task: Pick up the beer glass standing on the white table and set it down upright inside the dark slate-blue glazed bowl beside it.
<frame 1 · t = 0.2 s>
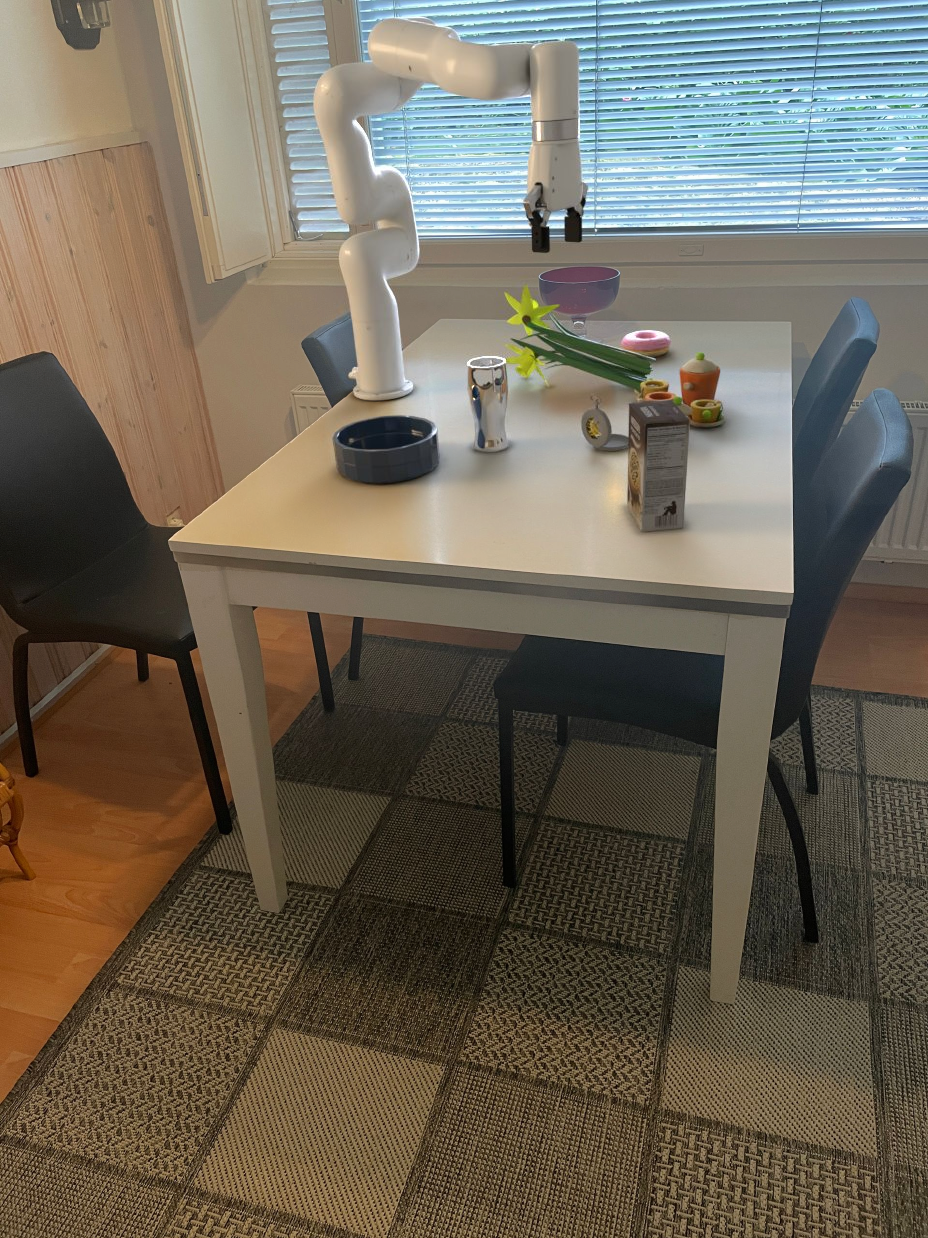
hand: (557, 246, 158), 31 cm above the table, tool pointing down, fingers open, 9 cm apart
toy tea set: (681, 417, 173), on the table
pocket watch: (605, 448, 163), on the table
doughnut: (645, 353, 211), on the table
daffodil flowers: (577, 382, 196), on the table
coffee box: (654, 518, 137), on the table
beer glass: (491, 447, 167), on the table
bowl: (388, 465, 162), on the table
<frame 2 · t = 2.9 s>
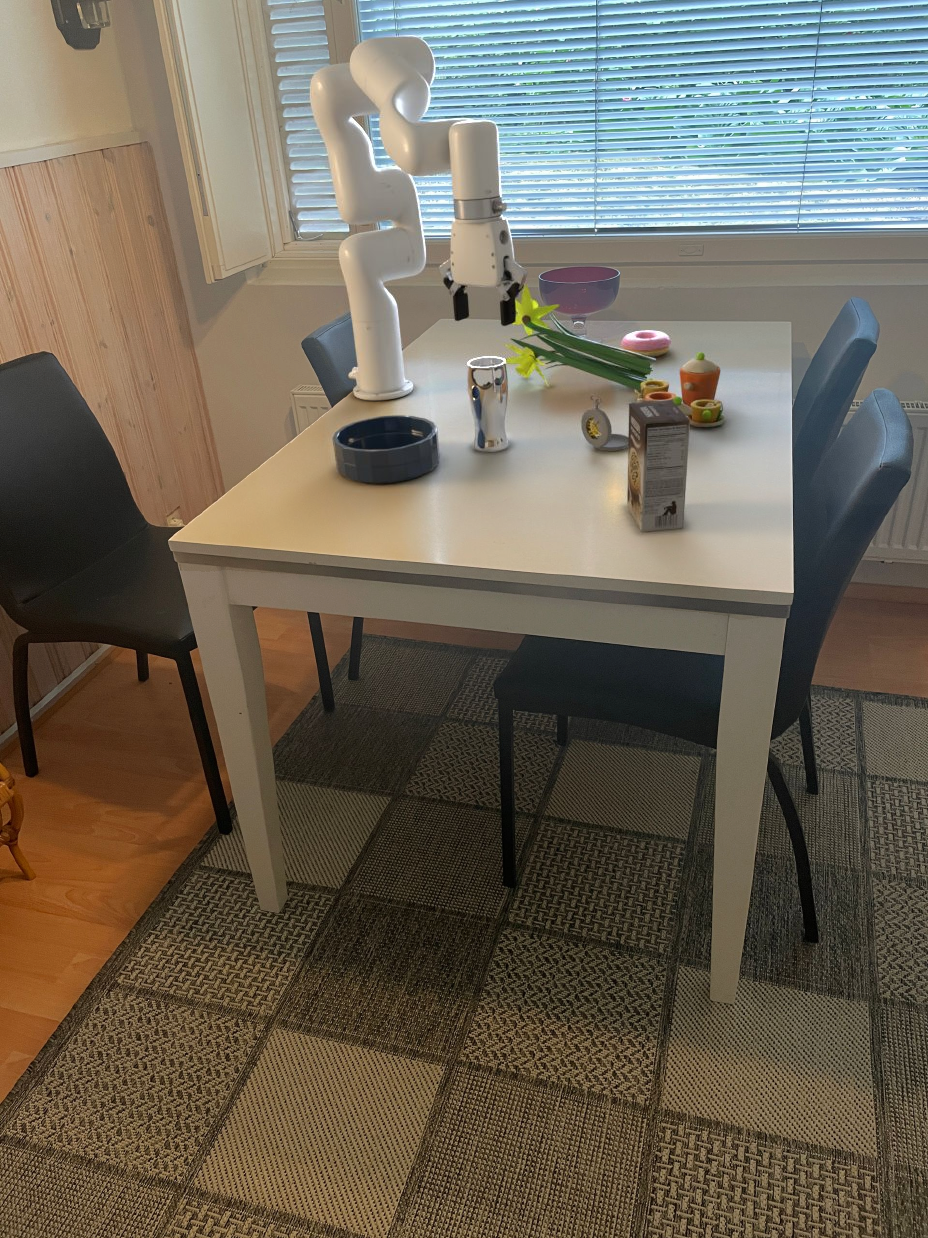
hand: (484, 321, 155), 22 cm above the table, tool pointing down, fingers open, 9 cm apart
nothing on the table moved.
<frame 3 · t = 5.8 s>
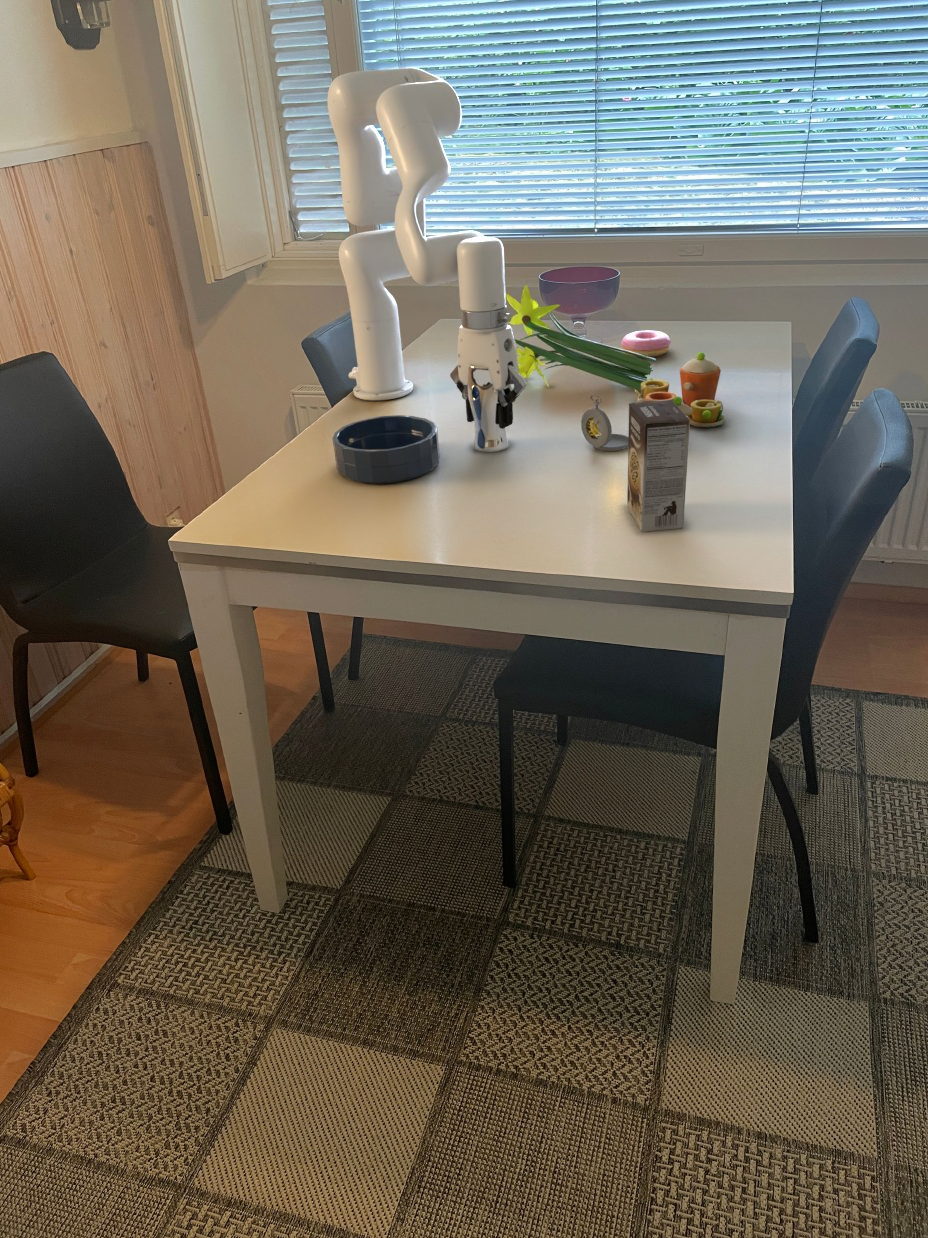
hand: (489, 422, 164), 4 cm above the table, tool pointing down, fingers closed on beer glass, 6 cm apart
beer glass: (491, 447, 167), on the table, touching gripper
everything else where it was.
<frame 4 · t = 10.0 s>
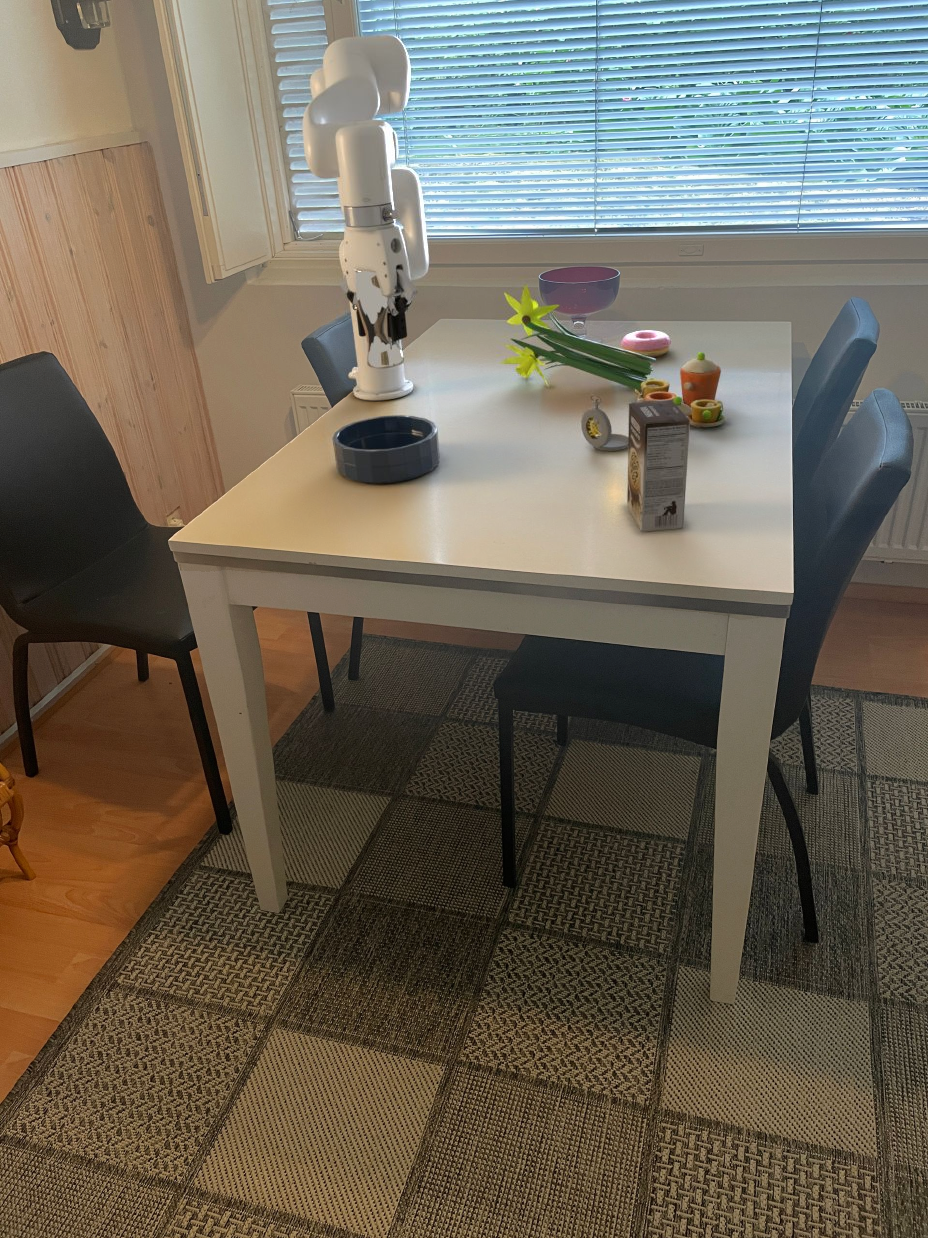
hand: (383, 335, 151), 22 cm above the table, tool pointing down, fingers closed on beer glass, 6 cm apart
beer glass: (386, 364, 154), point 17 cm above the table, touching gripper
everything else where it was.
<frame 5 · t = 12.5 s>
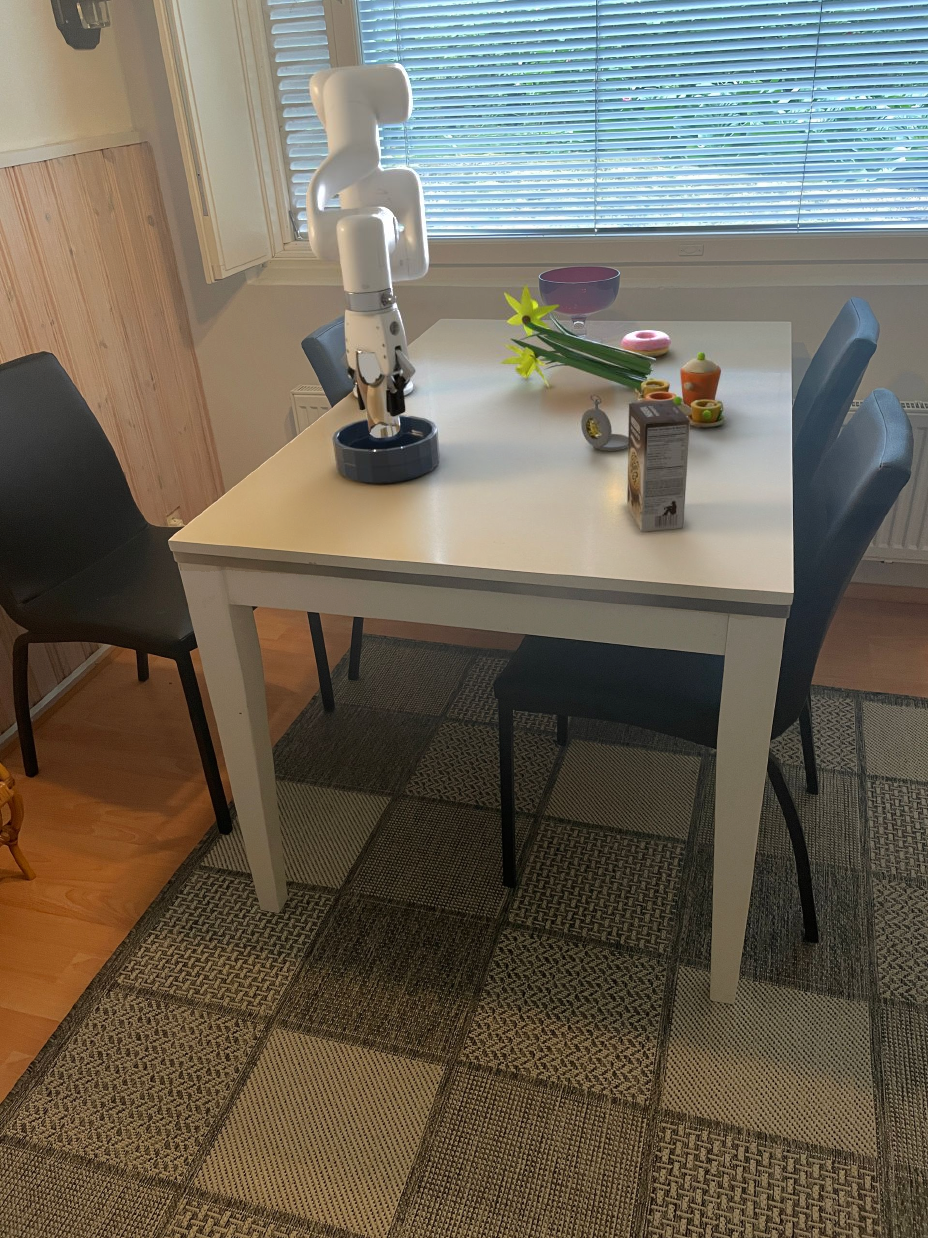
hand: (382, 410, 157), 10 cm above the table, tool pointing down, fingers closed on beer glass, 6 cm apart
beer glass: (385, 436, 159), point 5 cm above the table, touching gripper
everything else where it was.
when the fingers open (5 cm above the table, at t = 14.2 s): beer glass stays where it is, resting on bowl.
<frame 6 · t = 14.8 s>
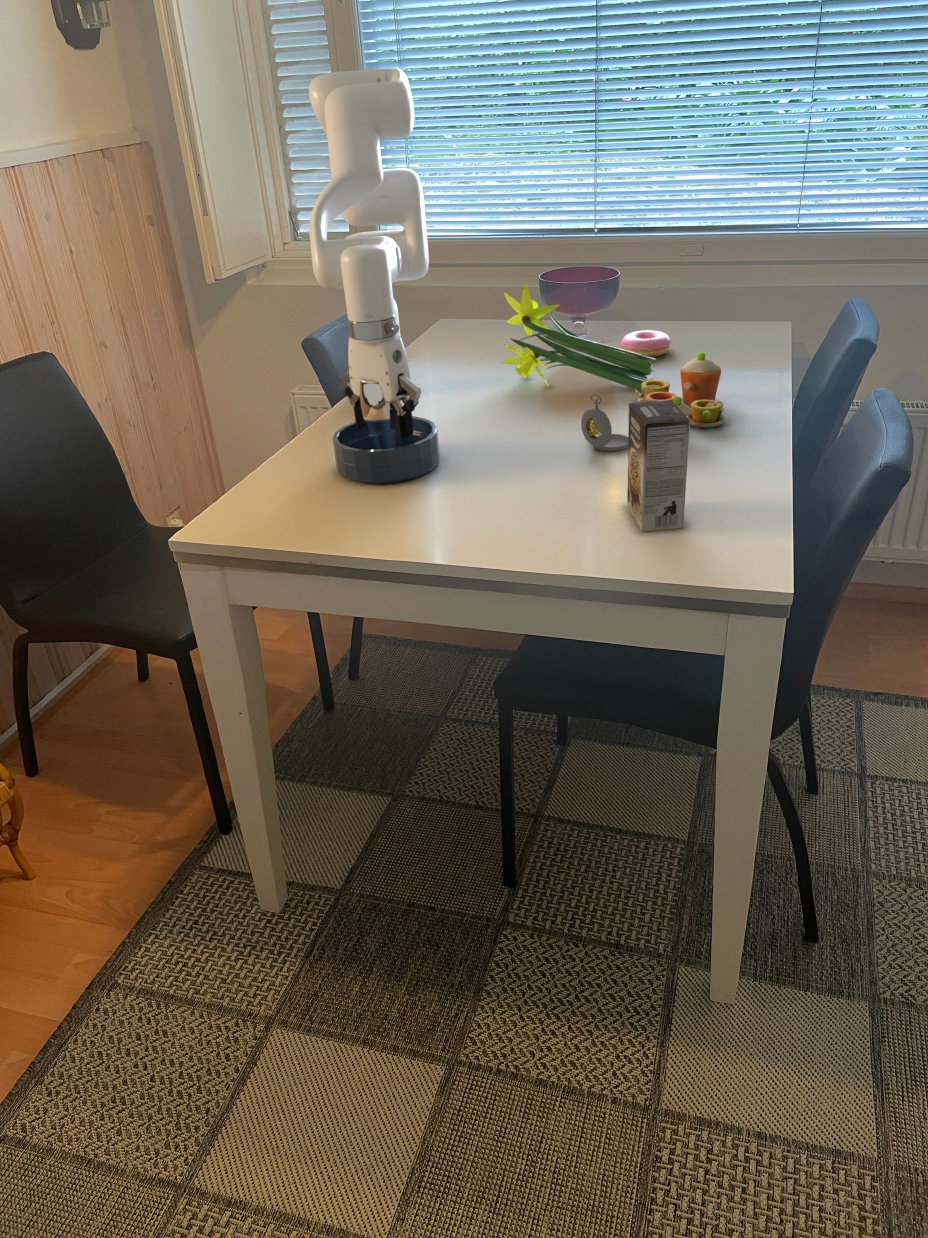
hand: (384, 431, 159), 6 cm above the table, tool pointing down, fingers open, 9 cm apart
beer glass: (388, 463, 162), resting on bowl
everything else where it was.
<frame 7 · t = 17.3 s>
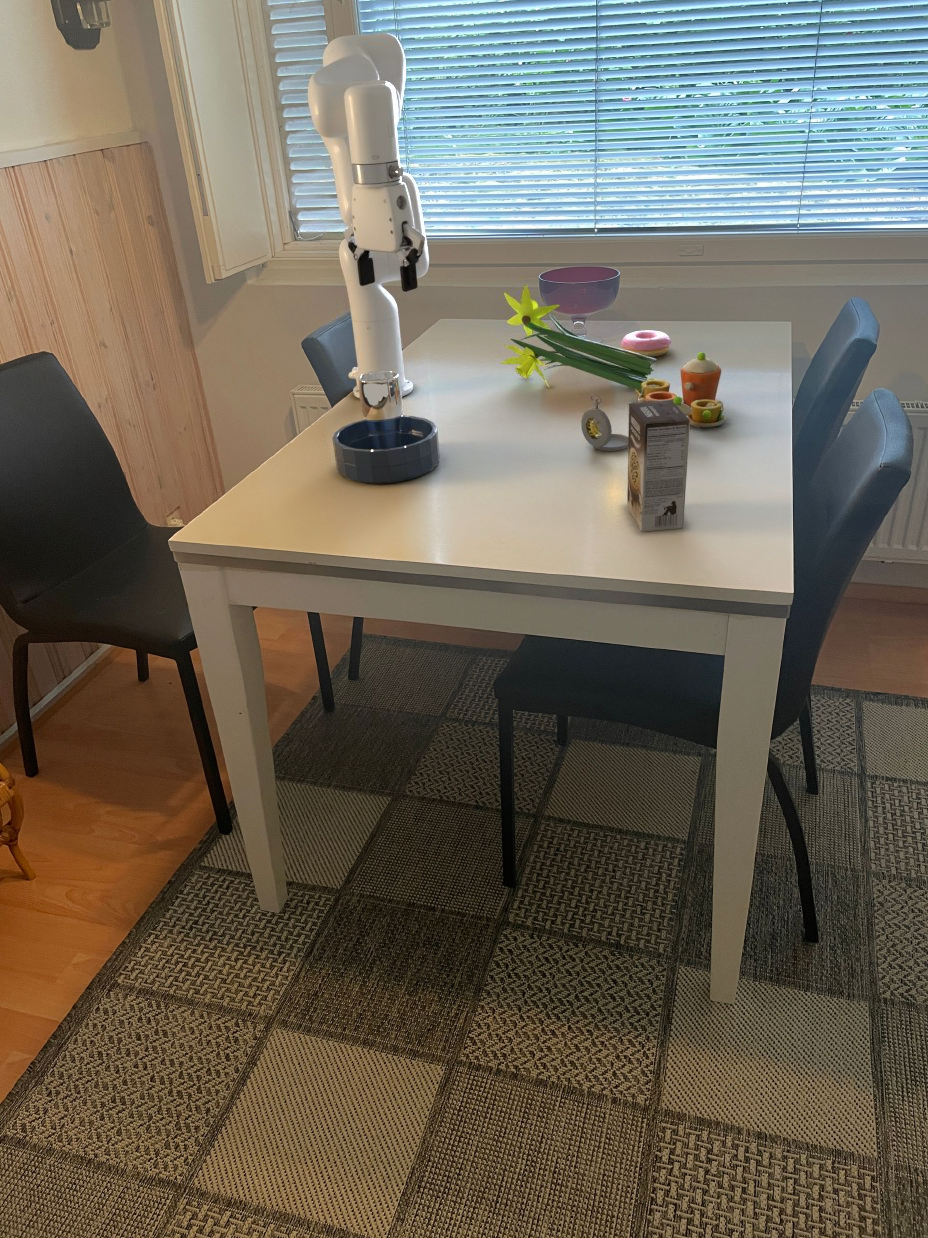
hand: (388, 286, 157), 28 cm above the table, tool pointing down, fingers open, 9 cm apart
nothing on the table moved.
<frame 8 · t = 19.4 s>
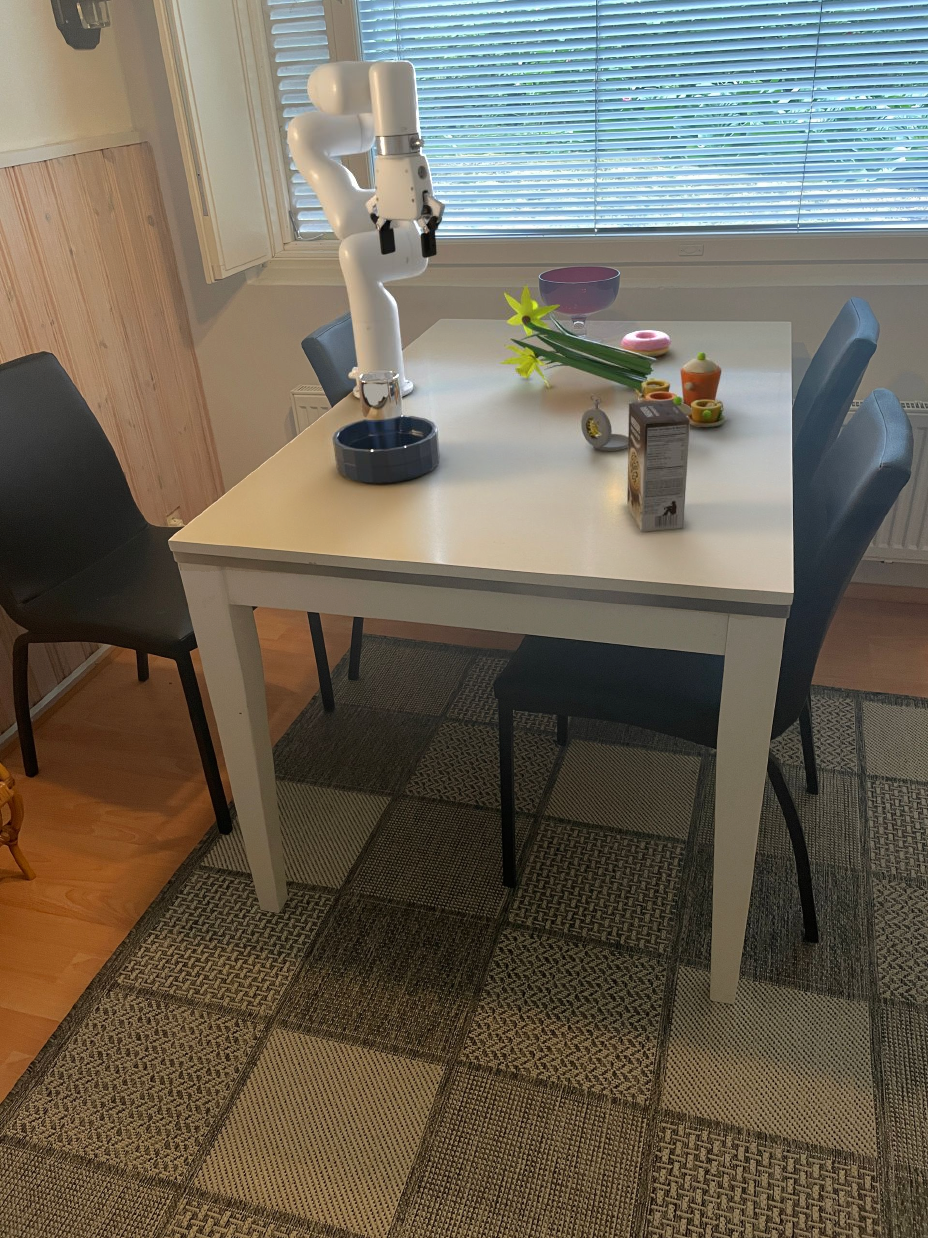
hand: (408, 254, 166), 30 cm above the table, tool pointing down, fingers open, 9 cm apart
nothing on the table moved.
at the end: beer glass inside the target area in the bowl (0.1 cm from its centre), point 0.4 cm above the bowl's base; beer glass tilted 0°; the gripper is holding nothing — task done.
